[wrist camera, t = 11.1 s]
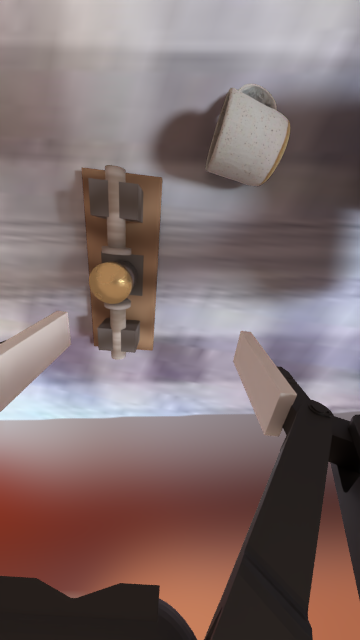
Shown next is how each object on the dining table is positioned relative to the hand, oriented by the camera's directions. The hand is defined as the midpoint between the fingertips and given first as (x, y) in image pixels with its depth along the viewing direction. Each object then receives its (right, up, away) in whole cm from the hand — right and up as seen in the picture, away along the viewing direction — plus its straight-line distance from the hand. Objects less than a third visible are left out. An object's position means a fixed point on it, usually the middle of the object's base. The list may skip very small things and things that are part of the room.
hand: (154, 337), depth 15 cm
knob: (-7, +9, +17) cm, 21 cm away
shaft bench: (-7, +9, +19) cm, 22 cm away
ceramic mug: (+10, +26, +13) cm, 31 cm away
